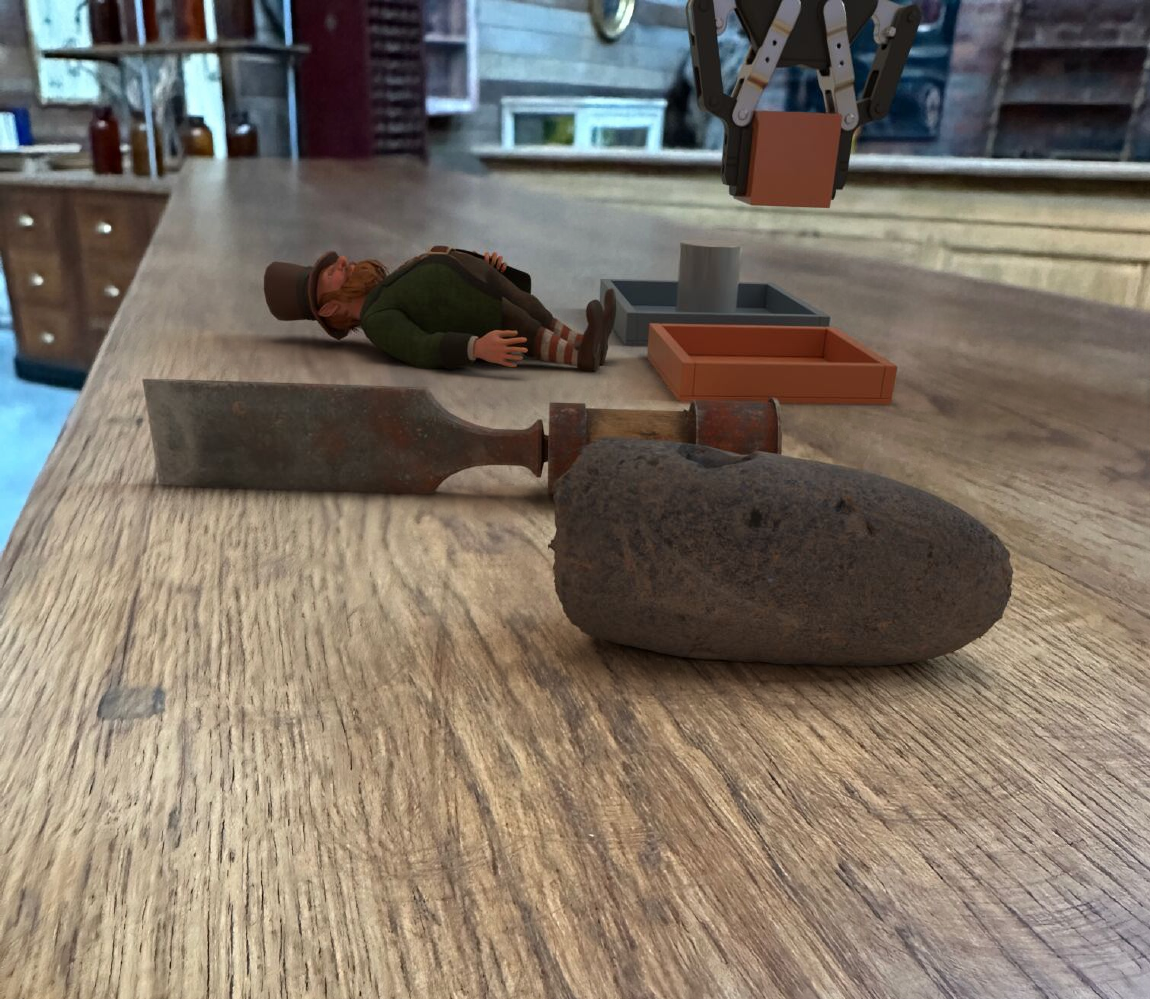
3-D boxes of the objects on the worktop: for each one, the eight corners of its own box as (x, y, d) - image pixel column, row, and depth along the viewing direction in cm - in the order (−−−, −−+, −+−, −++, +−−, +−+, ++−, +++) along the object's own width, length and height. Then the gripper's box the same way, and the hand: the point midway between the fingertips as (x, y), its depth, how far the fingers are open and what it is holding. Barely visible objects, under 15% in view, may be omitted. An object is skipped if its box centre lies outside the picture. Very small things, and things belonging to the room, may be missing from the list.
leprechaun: (581, 352, 71) (213, 279, 74) (580, 460, 79) (249, 390, 82) (624, 241, 76) (277, 177, 79) (619, 354, 84) (306, 292, 87)
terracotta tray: (829, 364, 83) (834, 326, 82) (890, 408, 72) (898, 365, 70) (646, 361, 82) (649, 323, 80) (679, 406, 70) (682, 362, 69)
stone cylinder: (727, 317, 96) (735, 240, 93) (740, 328, 92) (749, 247, 88) (669, 316, 95) (675, 238, 92) (679, 327, 91) (686, 245, 88)
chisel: (140, 508, 50) (121, 392, 48) (173, 475, 54) (157, 367, 52) (772, 525, 51) (787, 412, 48) (756, 492, 55) (768, 386, 53)
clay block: (808, 201, 73) (819, 112, 71) (830, 208, 69) (843, 114, 67) (733, 198, 73) (741, 109, 70) (750, 205, 69) (760, 110, 66)
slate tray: (770, 313, 102) (774, 282, 101) (825, 352, 87) (830, 316, 86) (599, 310, 100) (600, 278, 99) (625, 349, 85) (627, 312, 84)
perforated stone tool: (980, 645, 40) (1027, 450, 37) (1005, 712, 36) (1061, 498, 32) (566, 606, 42) (572, 416, 38) (541, 666, 38) (545, 458, 34)
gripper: (706, -169, 58) (679, 198, 67) (973, -151, 60) (912, 206, 68) (681, -143, 65) (659, 189, 73) (922, -128, 66) (872, 196, 75)
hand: (781, 196), depth 71 cm, fingers closed on clay block, 5 cm apart
